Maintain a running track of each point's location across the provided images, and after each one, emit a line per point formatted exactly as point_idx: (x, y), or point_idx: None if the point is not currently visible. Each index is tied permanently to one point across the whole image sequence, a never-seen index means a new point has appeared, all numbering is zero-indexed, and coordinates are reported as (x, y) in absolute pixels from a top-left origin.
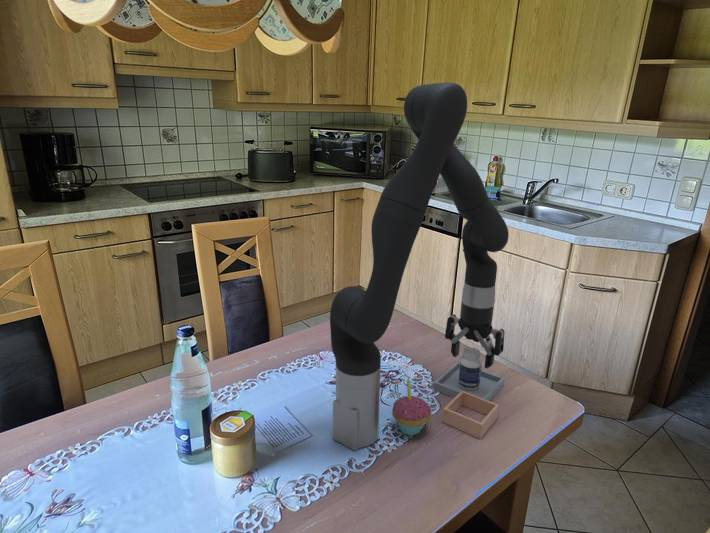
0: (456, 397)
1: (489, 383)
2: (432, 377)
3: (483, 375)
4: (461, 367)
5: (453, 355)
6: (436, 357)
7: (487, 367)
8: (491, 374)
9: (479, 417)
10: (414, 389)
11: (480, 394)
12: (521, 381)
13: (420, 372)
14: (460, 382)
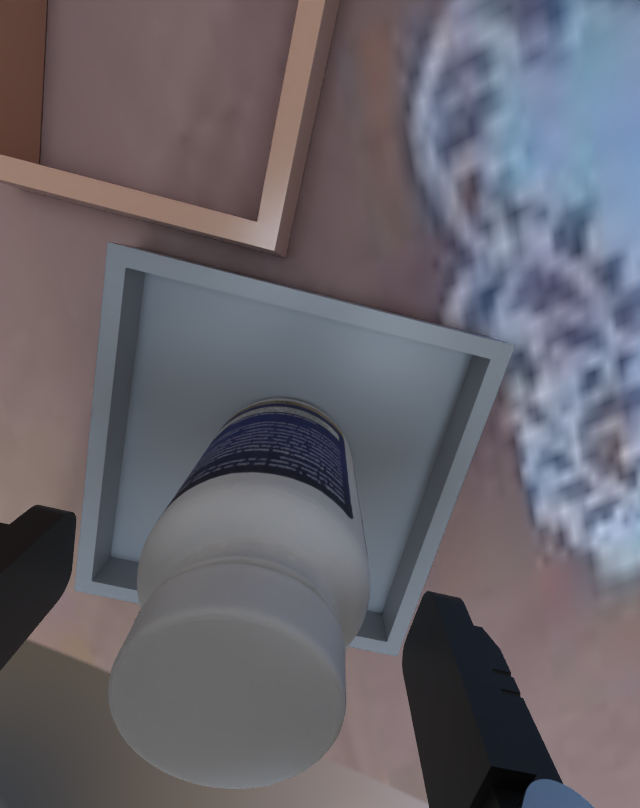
0: (291, 105)
1: None
2: (518, 471)
3: None
4: (332, 485)
5: (453, 601)
6: (525, 675)
7: (31, 513)
8: None
9: (126, 138)
10: (619, 282)
11: (185, 391)
12: None
13: (601, 494)
14: (326, 424)
